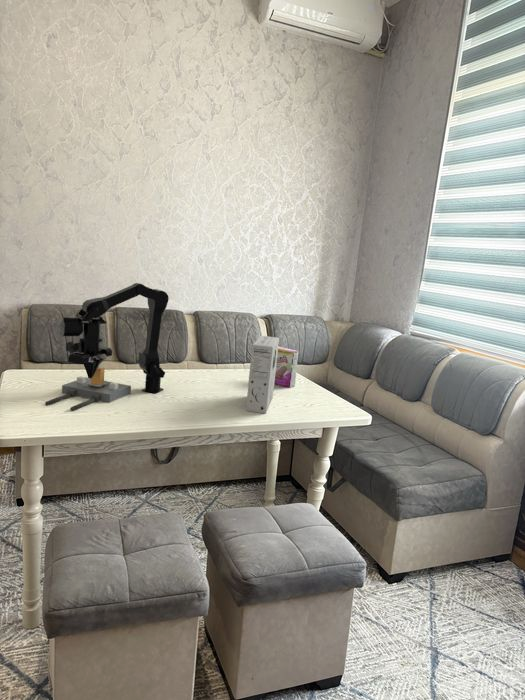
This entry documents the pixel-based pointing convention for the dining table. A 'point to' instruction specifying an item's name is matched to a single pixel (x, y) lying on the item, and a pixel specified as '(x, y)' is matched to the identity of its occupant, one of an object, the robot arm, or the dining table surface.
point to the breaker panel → (96, 390)
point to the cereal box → (262, 374)
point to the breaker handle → (98, 378)
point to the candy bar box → (286, 367)
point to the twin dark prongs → (68, 397)
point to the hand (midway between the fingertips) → (90, 378)
